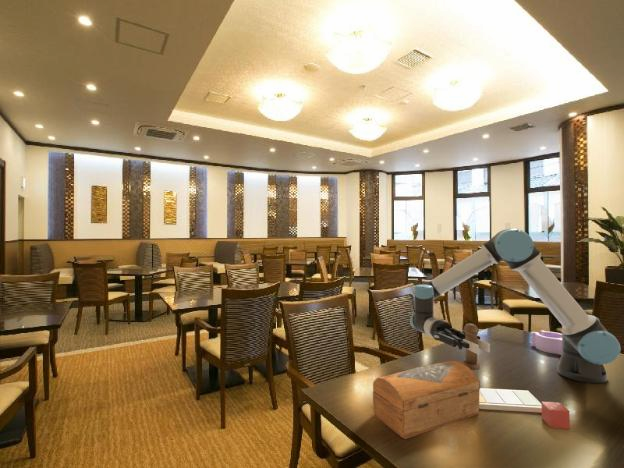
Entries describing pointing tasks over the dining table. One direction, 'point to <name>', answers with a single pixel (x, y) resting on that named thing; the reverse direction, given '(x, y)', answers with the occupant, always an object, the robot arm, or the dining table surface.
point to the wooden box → (426, 397)
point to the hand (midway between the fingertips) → (483, 348)
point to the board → (508, 400)
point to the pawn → (471, 357)
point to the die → (555, 415)
